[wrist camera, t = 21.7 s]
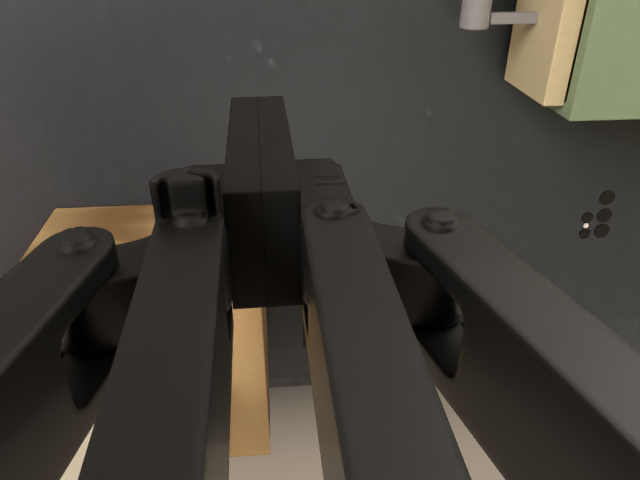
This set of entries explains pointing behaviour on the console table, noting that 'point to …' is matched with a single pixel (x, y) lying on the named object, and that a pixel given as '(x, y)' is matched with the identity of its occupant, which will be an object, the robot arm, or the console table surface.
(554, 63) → the drawer
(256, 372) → the stand
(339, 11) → the console table surface
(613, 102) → the cabinet
